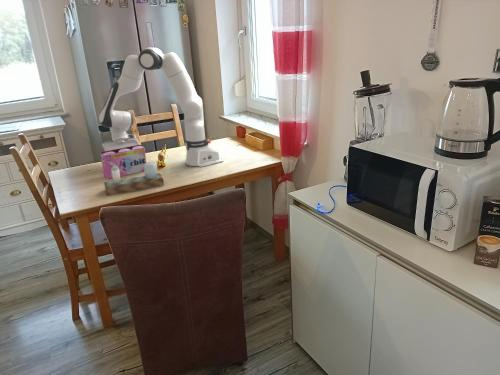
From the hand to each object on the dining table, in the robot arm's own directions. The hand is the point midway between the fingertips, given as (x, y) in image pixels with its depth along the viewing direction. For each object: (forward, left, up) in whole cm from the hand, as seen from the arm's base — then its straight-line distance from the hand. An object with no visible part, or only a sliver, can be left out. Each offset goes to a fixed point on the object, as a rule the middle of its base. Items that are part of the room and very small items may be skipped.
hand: (125, 160), depth 226 cm
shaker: (+8, +31, -1) cm, 32 cm away
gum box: (+1, +6, -6) cm, 8 cm away
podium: (0, +31, -5) cm, 31 cm away
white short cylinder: (-9, +31, -1) cm, 32 cm away
